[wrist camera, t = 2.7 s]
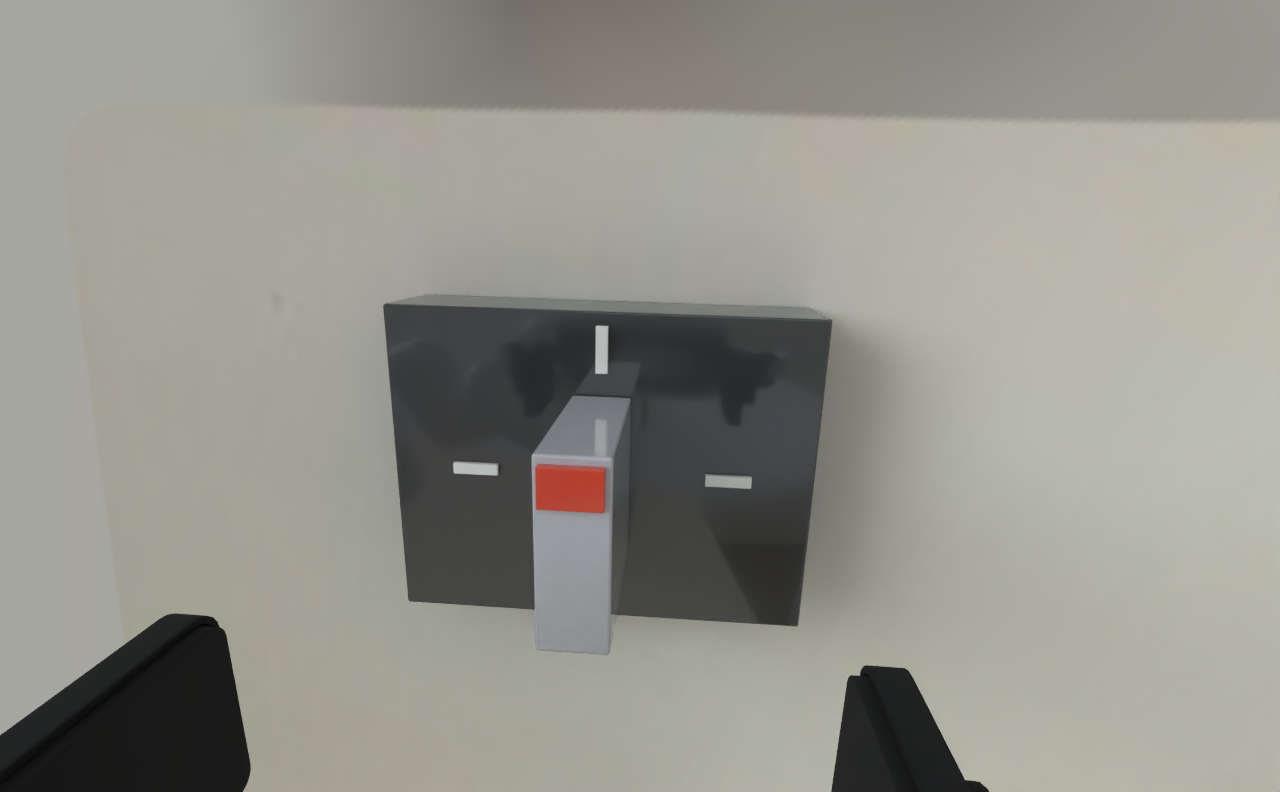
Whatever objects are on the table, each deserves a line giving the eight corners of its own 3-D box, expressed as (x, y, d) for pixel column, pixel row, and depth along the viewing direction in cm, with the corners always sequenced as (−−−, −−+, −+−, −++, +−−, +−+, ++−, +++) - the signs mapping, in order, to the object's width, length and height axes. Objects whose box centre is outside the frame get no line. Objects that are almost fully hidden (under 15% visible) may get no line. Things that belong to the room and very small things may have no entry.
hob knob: (628, 548, 19) (609, 663, 14) (572, 545, 19) (532, 658, 14) (631, 397, 17) (611, 462, 12) (571, 394, 18) (527, 458, 12)
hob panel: (442, 555, 23) (405, 604, 20) (425, 294, 20) (379, 304, 17) (782, 576, 22) (799, 630, 19) (810, 307, 19) (834, 320, 16)
